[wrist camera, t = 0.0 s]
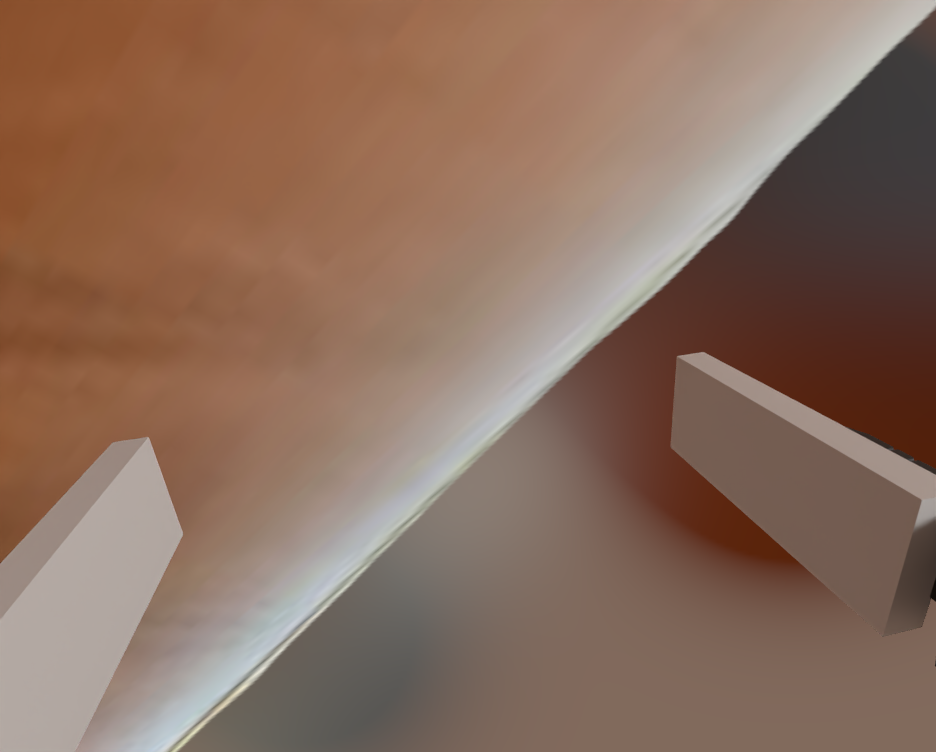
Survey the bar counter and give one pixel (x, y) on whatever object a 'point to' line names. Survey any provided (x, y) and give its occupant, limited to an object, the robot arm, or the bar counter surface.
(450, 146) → the bar counter surface
